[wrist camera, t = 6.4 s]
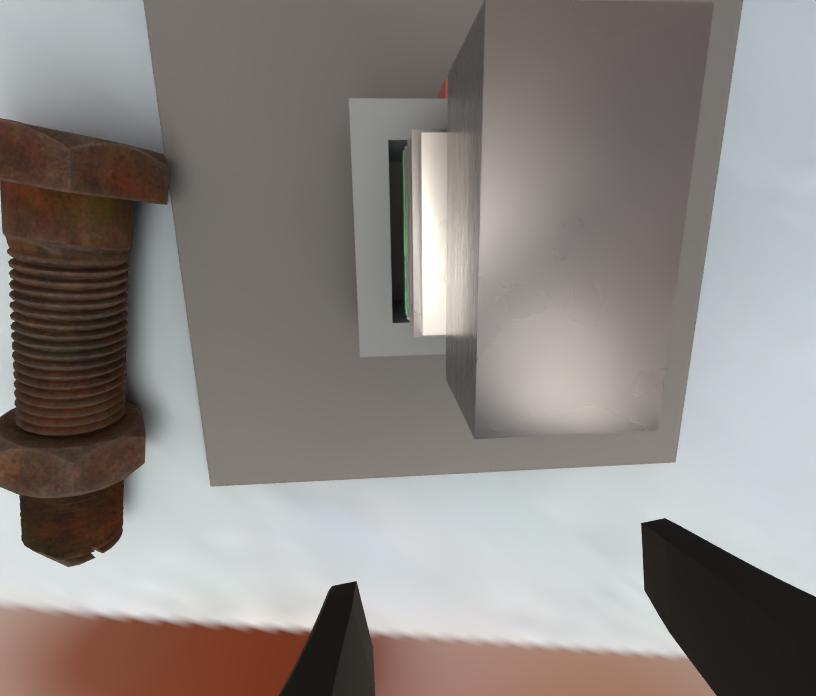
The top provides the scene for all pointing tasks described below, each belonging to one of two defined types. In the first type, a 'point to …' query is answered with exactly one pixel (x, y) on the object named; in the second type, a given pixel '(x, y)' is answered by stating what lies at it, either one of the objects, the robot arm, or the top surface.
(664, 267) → the tall silver metal block
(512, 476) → the top surface
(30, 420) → the bolt
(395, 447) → the jack base
